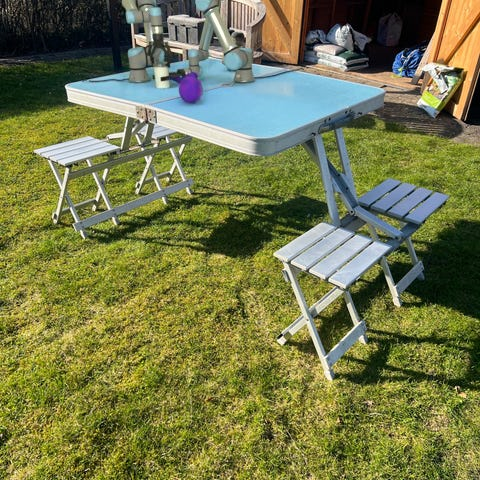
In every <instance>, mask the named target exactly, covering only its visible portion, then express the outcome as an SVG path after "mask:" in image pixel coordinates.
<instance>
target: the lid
mask: <svg viewBox="0 0 480 480" xmlns="http://www.w3.org/2000/svg"><path fill="white" fill-rule="evenodd" d="M166 66H167V61H164V62H154V63H153V67H152V68H154V67H166Z"/></svg>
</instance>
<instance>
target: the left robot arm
mask: <svg viewBox="0 0 480 480" xmlns="http://www.w3.org/2000/svg"><path fill="white" fill-rule="evenodd" d="M121 4H122V5H121V6H122V7H123V8H124V9H125V18H126V23H127V24H132V25H133V24H143V28H144V34H145V39H146V40H145V41H146V46H145V48H144V47H143V46H137V47H132V48H130V49H128V50H127V57H128V64H129V65H128V66H129V76H128V78H127V77H126V78H122V79H117V78H108V79H99V80H90V79H86V78H85V79H83V80H82V81H81V83H84V82H90V83H101V82H102V83H103V82H110V81H115V82H123V81H128V82H129V83H133V84H141V83H148V82H150V76H149V74H148V71H147V66H148V67H149V66H151V67H152V68H154V67H153V63H154V62H165V56H166V62H167V68H168V69H170V68H171V63H172V57H174V55H173V54H174V53H173V52H172V50H171V47H170V45H169V41H168V40H167V41H165V40H164V39H165V38H164V37H165V36H164V26H163V17H162V9H161V7H158V6H157V0H121ZM87 80H89V81H87ZM83 81H84V82H83Z"/></svg>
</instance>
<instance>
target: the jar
mask: <svg viewBox="0 0 480 480" xmlns="http://www.w3.org/2000/svg"><path fill="white" fill-rule="evenodd" d="M169 69H170V68H167V66H166V67H153V71H154V72H153V73H154V75H155V79H154V81H155V88H156V89H168V88H170V87H171V82H170V81H171V80H170V79H169V80H167V81H161V78H160V77H165V76H169V72H170V70H169Z"/></svg>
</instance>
